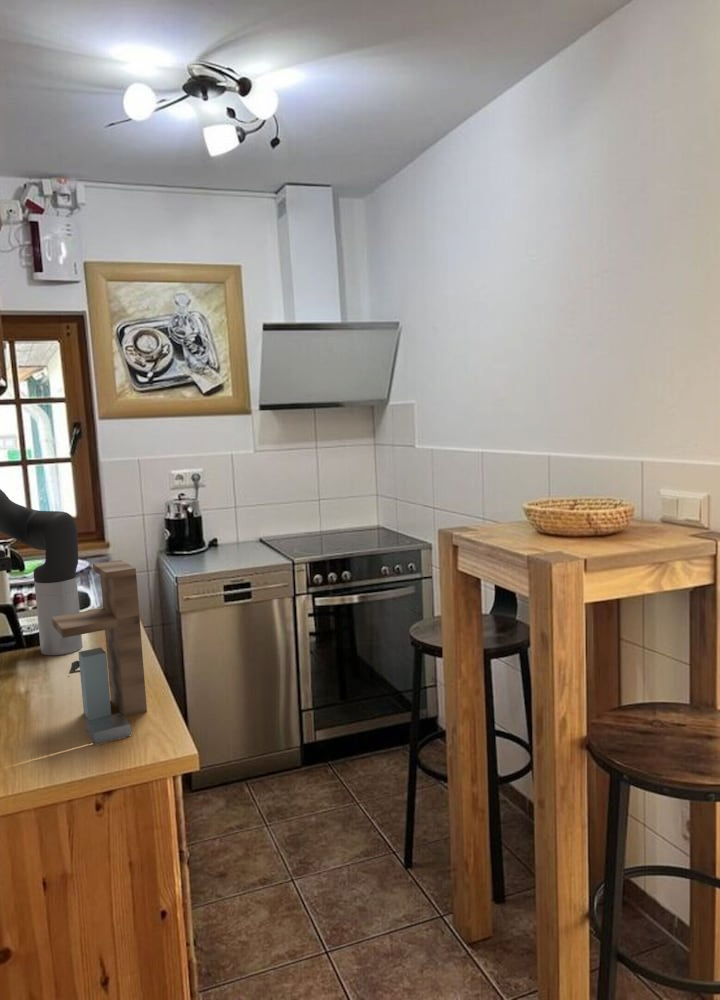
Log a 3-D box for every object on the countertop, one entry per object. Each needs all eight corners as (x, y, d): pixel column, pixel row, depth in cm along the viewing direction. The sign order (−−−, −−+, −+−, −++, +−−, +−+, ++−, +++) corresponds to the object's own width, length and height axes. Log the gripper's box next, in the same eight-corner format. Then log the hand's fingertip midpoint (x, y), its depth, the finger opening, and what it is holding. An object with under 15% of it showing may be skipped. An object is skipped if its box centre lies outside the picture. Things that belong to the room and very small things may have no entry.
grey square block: (86, 734, 128) (85, 721, 128) (121, 726, 131) (120, 712, 131) (95, 747, 123) (94, 733, 123) (131, 737, 126) (130, 723, 126)
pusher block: (83, 714, 136) (78, 651, 135) (106, 709, 138) (100, 647, 137) (88, 721, 133) (83, 657, 131) (111, 716, 135) (106, 652, 133)
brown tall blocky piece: (60, 713, 137) (47, 570, 134) (131, 696, 144) (120, 559, 141) (71, 732, 129) (57, 579, 125) (147, 713, 136) (135, 568, 132)
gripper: (-101, 557, 116) (12, 543, 125) (-102, 545, 128) (0, 533, 136) (-96, 603, 117) (16, 587, 125) (-97, 587, 129) (5, 573, 137)
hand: (8, 559), depth 131 cm, fingers open, 8 cm apart
